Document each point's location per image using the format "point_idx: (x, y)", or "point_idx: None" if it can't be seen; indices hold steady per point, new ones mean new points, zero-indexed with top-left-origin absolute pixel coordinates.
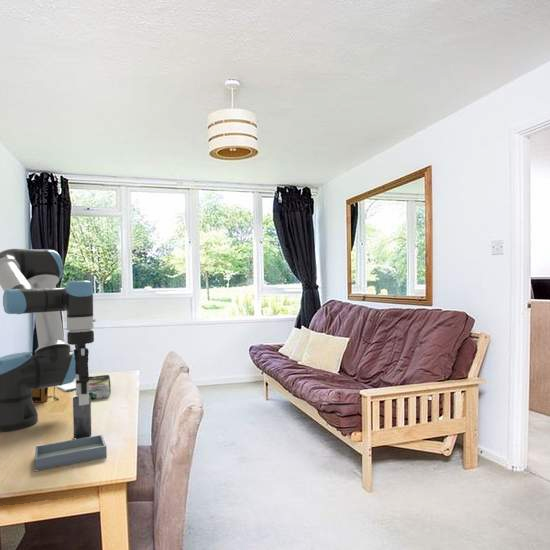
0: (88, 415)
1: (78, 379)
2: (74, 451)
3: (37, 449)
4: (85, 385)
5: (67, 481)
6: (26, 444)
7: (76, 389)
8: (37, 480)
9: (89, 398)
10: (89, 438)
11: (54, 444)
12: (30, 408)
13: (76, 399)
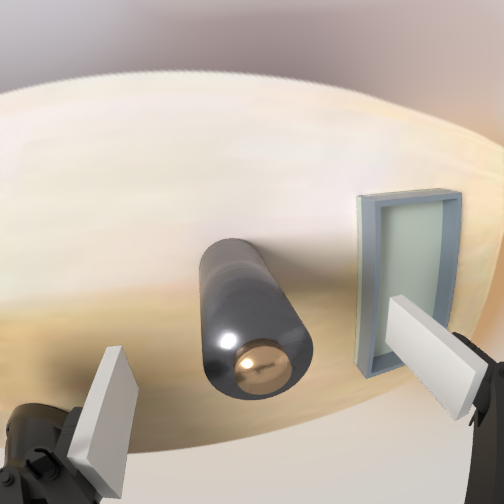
0: (270, 276)
1: (118, 459)
2: (453, 274)
3: (391, 366)
4: (488, 364)
5: (490, 264)
6: (238, 407)
7: (132, 414)
8: (461, 318)
9: (286, 311)
10: (378, 243)
11: (373, 338)
12: (52, 449)
13: (298, 378)
